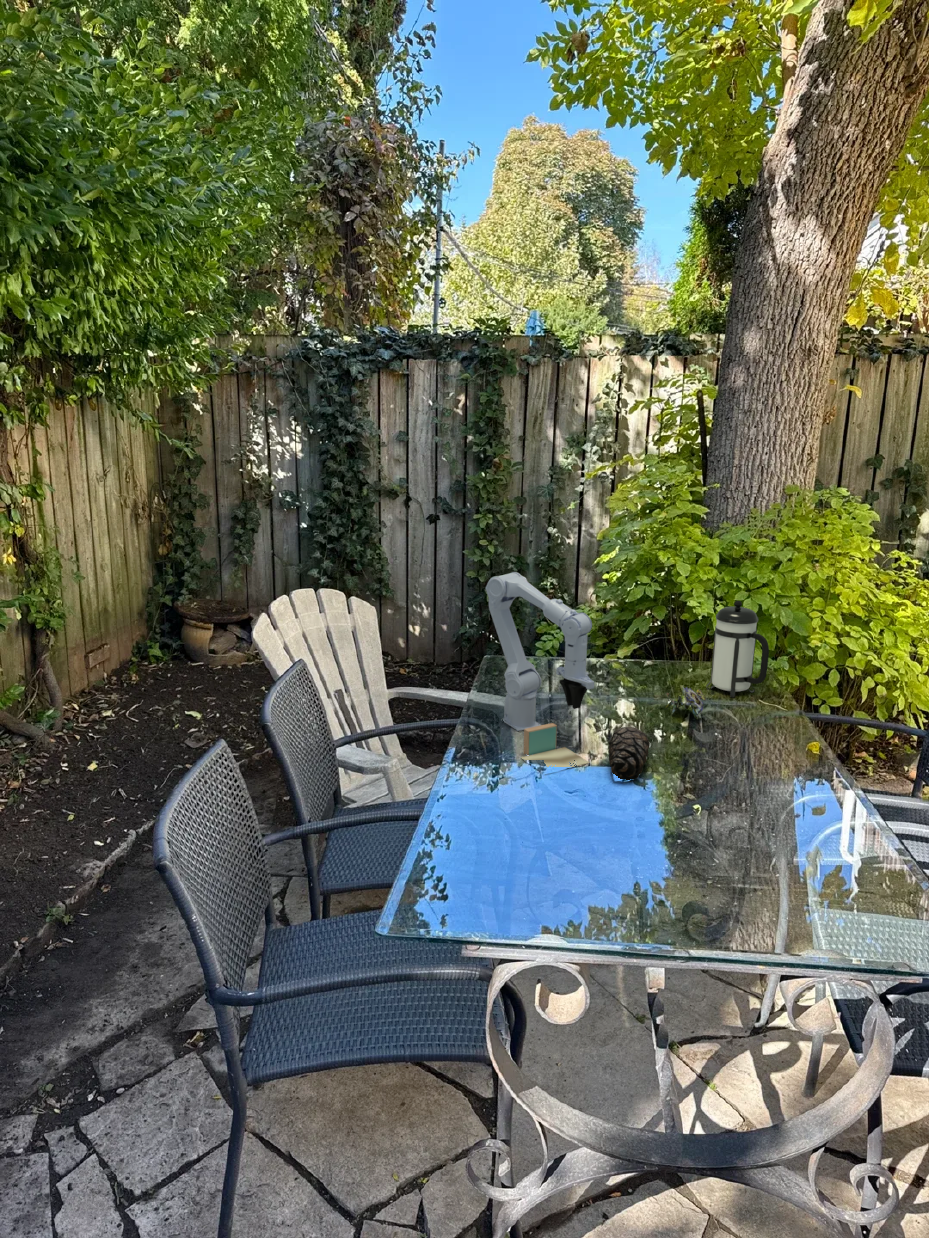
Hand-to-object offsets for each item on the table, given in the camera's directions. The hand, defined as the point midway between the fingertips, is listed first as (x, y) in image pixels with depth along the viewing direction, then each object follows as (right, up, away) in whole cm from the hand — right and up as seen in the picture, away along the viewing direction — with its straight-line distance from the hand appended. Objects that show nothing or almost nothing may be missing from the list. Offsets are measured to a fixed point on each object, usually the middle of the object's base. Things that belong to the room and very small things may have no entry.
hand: (573, 706), depth 215 cm
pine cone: (+12, -15, -16) cm, 24 cm away
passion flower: (+36, -5, +20) cm, 41 cm away
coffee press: (+58, 0, +42) cm, 71 cm away
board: (-6, -13, -11) cm, 18 cm away
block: (-10, -12, -5) cm, 16 cm away
